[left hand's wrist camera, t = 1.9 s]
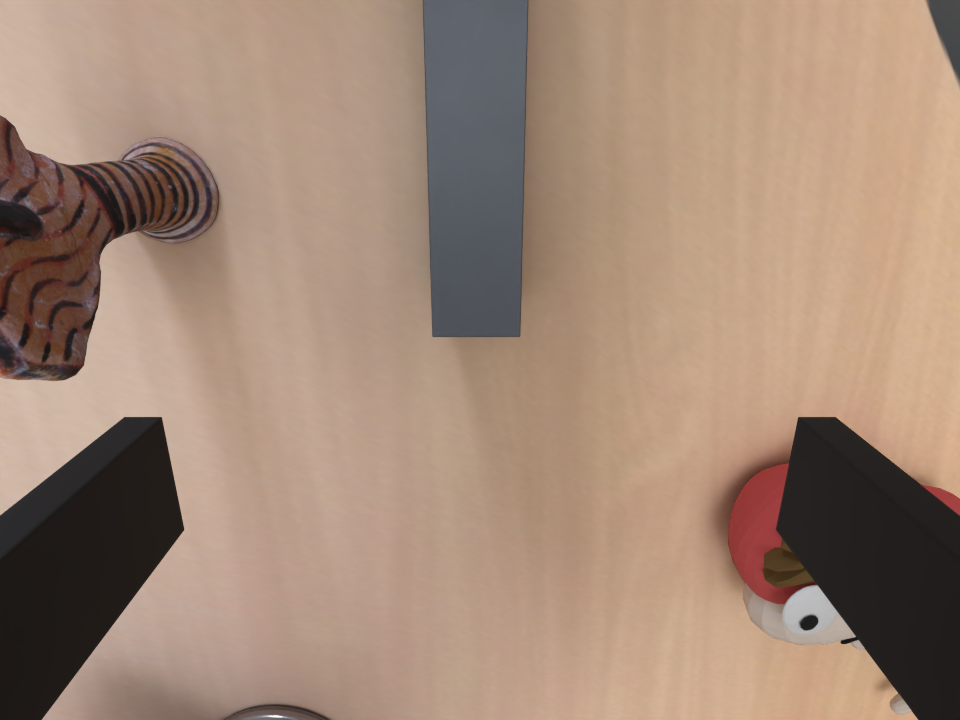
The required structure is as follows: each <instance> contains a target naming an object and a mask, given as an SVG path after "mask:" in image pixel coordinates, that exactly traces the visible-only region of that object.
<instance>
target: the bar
mask: <svg viewBox="0 0 960 720" xmlns="http://www.w3.org/2000/svg"><path fill="white" fill-rule="evenodd" d="M423 21H424V56H425V91H426V127H427V162H428V197H429V233H430V268H431V303H432V336H433V337H520V324H521V282H522V240H523V199H524V157H525V115H526V73H527V31H528V0H423Z"/></svg>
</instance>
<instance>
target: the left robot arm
mask: <svg viewBox="0 0 960 720" xmlns="http://www.w3.org/2000/svg"><path fill="white" fill-rule="evenodd" d="M183 531H184V526H183V521H182V516H181V511H180V506H179V501H178V496H177V491H176V486H175V481H174V476H173V471H172V466H171V461H170V456H169V451H168V446H167V441H166V436H165V431H164V426H163V421H162V417H124V418H123V419H122V420H120V421H119V422H118V423H117V424H115V425H114V426H113V427H112V428H110V429H109V430H108V431H106V432H105V433H104V434H103V435H101V436H100V437H99V438H98V439H96V440H95V441H94V442H93V443H91V444H90V445H89V446H88V447H86V448H85V449H84V450H83V451H81V452H80V453H79V454H77V455H76V456H75V457H74V458H72V459H71V460H70V461H69V462H67V463H66V464H65V465H64V466H62V467H61V468H60V469H59V470H57V471H56V472H55V473H53V474H52V475H51V476H50V477H48V478H47V479H46V480H45V481H43V482H42V483H41V484H40V485H38V486H37V487H36V488H35V489H33V490H32V491H31V492H29V493H28V494H27V495H26V496H24V497H23V498H22V499H21V500H19V501H18V502H17V503H16V504H14V505H13V506H12V507H11V508H9V509H8V510H7V511H5V512H4V513H3V514H2V515H0V720H42V719H43V717H44V716H45V715H46V713H47V712H48V711H49V709H50V708H51V707H52V705H53V704H54V703H55V701H56V700H57V699H58V697H59V696H60V695H61V693H62V692H63V691H64V689H65V688H66V687H67V685H68V684H69V683H70V681H71V680H72V679H73V677H74V676H75V675H76V673H77V672H78V671H79V669H80V668H81V667H82V665H83V664H84V663H85V661H86V660H87V659H88V657H89V656H90V655H91V653H92V652H93V651H94V649H95V648H96V647H97V645H98V644H99V643H100V641H101V640H102V639H103V637H104V636H105V635H106V633H107V632H108V631H109V629H110V628H111V627H112V625H113V624H114V623H115V621H116V620H117V619H118V617H119V616H120V615H121V613H122V612H123V611H124V609H125V608H126V607H127V605H128V604H129V603H130V601H131V600H132V599H133V597H134V596H135V595H136V593H137V592H138V591H139V589H140V588H141V587H142V585H143V584H144V583H145V581H146V580H147V579H148V577H149V576H150V575H151V573H152V572H153V571H154V569H155V568H156V567H157V565H158V564H159V563H160V561H161V560H162V559H163V557H164V556H165V555H166V553H167V552H168V551H169V549H170V548H171V547H172V545H173V544H174V543H175V541H176V540H177V539H178V537H179V536H180V535H181V533H182V532H183ZM776 531H777V532H778V533H779V535H780V536H781V537H782V539H783V540H784V541H785V543H786V544H787V545H788V547H789V548H790V549H791V551H792V552H793V553H794V555H795V556H796V557H797V559H798V560H799V561H800V563H801V564H802V565H803V567H804V568H805V569H806V571H807V572H808V573H809V575H810V576H811V577H812V579H813V580H814V581H815V583H816V584H817V585H818V587H819V588H820V589H821V591H822V592H823V593H824V595H825V596H826V597H827V599H828V600H829V601H830V603H831V604H832V605H833V607H834V608H835V609H836V611H837V612H838V613H839V615H840V616H841V617H842V619H843V620H844V621H845V623H846V624H847V625H848V627H849V628H850V629H851V631H852V632H853V633H854V635H855V636H856V637H857V639H858V640H859V641H860V643H861V644H862V645H863V647H864V648H865V649H866V651H867V652H868V653H869V655H870V656H871V657H872V659H873V660H874V661H875V663H876V664H877V665H878V667H879V668H880V669H881V671H882V672H883V673H884V675H885V676H886V677H887V679H888V680H889V681H890V683H891V684H892V685H893V687H894V688H895V689H896V691H897V692H898V693H899V695H900V696H901V697H902V699H903V700H904V701H905V703H906V704H907V705H908V707H909V708H910V709H911V711H912V712H913V713H914V715H915V716H916V717H917V719H918V720H960V515H958V514H957V513H956V512H955V511H953V510H952V509H951V508H949V507H948V506H947V505H946V504H944V503H943V502H942V501H941V500H939V499H938V498H937V497H936V496H934V495H933V494H932V493H931V492H929V491H928V490H927V489H925V488H924V487H923V486H922V485H920V484H919V483H918V482H917V481H915V480H914V479H913V478H912V477H910V476H909V475H908V474H907V473H905V472H904V471H903V470H901V469H900V468H899V467H898V466H896V465H895V464H894V463H893V462H891V461H890V460H889V459H888V458H886V457H885V456H884V455H883V454H881V453H880V452H879V451H877V450H876V449H875V448H874V447H872V446H871V445H870V444H869V443H867V442H866V441H865V440H864V439H862V438H861V437H860V436H859V435H857V434H856V433H855V432H854V431H852V430H851V429H850V428H848V427H847V426H846V425H845V424H843V423H842V422H841V421H840V420H838V419H837V418H836V417H798V421H797V426H796V431H795V436H794V441H793V446H792V451H791V456H790V461H789V466H788V471H787V476H786V481H785V486H784V491H783V496H782V501H781V506H780V511H779V516H778V521H777V526H776ZM225 720H326V719H324V718H322V717H320V716H318V715H316V714H314V713H311V712H308V711H305V710H301V709H297V708H292V707H284V706H263V707H256V708H251V709H247V710H243V711H241V712H238V713H236V714H234V715H232V716H230V717H228V718H227V719H225Z"/></svg>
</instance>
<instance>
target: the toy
mask: <svg viewBox="0 0 960 720" xmlns="http://www.w3.org/2000/svg"><path fill="white" fill-rule="evenodd" d="M788 466H789V463H787V464H780V465H776V466H773V467H770V468H767V469H763V470H762V471H761V472H759V473H758V474H756V475H755V476H753V477H752V478H751V479H750V480H749V481H748V482H747V484H746V485H745V486H744V487H743V489H742V490H741V492H740V494H739V496H738V497H737V499H736V501H735V503H734V507H733V510H732V513H731V516H730V522H729V529H728V545H729V549H730V553H731V556H732V560H733V563H734V564H735V566H736V568H737V570H738V572H739V574H740V576H741V577H742V579H743V580H744V582H745V584H744V590H743V600H744V603H745V606H746V609H747V611H748V614H749V617H750V619H751V621H752V622H753V623H754V624H755V625H756V626H758V627H759V628H760V629H761V630H763V631H764V632H765V633H766V634H768V635H769V636H771V637H773V638H775V639H779V640H782V641H786V642H790V643H794V644H799V645H814V644H830V643H834V642H838V641H841V644H847V643H850V642H851V643H852V645H853V646H854V647H855V648H857V649H865V648H864V647H863V645H862V644H861V643H860V641H859V640H858V639H857V637H856V636H855V635H854V633H853V632H852V631H851V629H850V628H849V627H848V625H847V624H846V623H845V621H844V620H843V619H842V617H841V616H840V615H839V613H838V612H837V611H836V609H835V608H834V607H833V605H832V604H831V603H830V601H829V600H828V599H827V597H826V596H825V595H824V593H823V592H822V591H821V589H820V588H819V587H818V585H817V584H816V583H815V581H814V580H813V579H812V577H811V576H810V575H809V573H808V572H807V571H806V569H805V568H804V567H803V565H802V564H801V563H800V561H799V560H798V559H797V557H796V556H795V555H794V553H793V552H792V551H791V549H790V548H789V547H788V545H787V544H786V543H785V541H784V540H783V539H782V537H781V536H780V535H779V533H778V532H777V531H776V526H777V521H778V516H779V511H780V506H781V501H782V496H783V491H784V486H785V481H786V476H787V471H788ZM922 486H923V487H924V488H925V489H927V490H928V491H929V492H931V493H932V494H933V495H934V496H936V497H937V498H938V499H939V500H941V501H942V502H943V503H944V504H946V505H947V506H948V507H949V508H951V509H952V510H953V511H955V512H956V513H957V514H958V515H960V499H959V498H958V497H956V496H955V495H953V494H952V493H950V492H947V491H945V490H943V489H941V488H936V487H930V486H924V485H922ZM890 707H891V709H892V710H893V711H894V712H895V713H897V714H906V713H909V712H911V709H910V708H909V707H908V705H907V704H906V703H905V701H904V700H903V699H902V697H901V696H900V695H899V694H897V695H896V696H894V697H893V698H892V699H891V701H890Z"/></svg>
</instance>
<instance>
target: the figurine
mask: <svg viewBox="0 0 960 720" xmlns="http://www.w3.org/2000/svg"><path fill="white" fill-rule="evenodd" d="M217 206H218V192H217V187H216V184H215V182H214V180H213V177H212V175H211V173H210V171H209V169H208V168H206V166H205V165H204V163H203V162H202V160H201V159H200V158H199V157H198V156H197V155H195V154H194V153H193V152H192V151H191V150H190V149H188V148H186V147H185V146H184V145H182V144H180V143H178V142H175V141H172V140H170V139H167V138H152V139H148V140H145V141H143V142H140V143H136V144H134V145H132V146H131V147H129V148H128V149H127V150H126V151H125V152H124V153H123V154H122V156H121V157H120V158H119V160H118V161H108V162H99V163H89V164H81V165H66V164H62V163H58V162H56V161H54V160H52V159H50V158H48V157H46V156H44V155H42V154H36V153H33V152H31V151H29V150H27V149H26V148H25V146H24V145H23V143H22V141H21V139H20V138H19V135H18V133H17V131H16V128H15V126H13V125H12V124H11V123H10V122H9V121H8V120H7V119H6V118H4V117H2V116H0V377H2V378H4V379H15V380H48V381H60V380H66V379H68V378H70V377H72V376H74V375H76V374H77V373H78V372H79V370H80V369H81V368H82V367H83V366H84V361H85V356H86V349H87V342H88V338H89V334H90V332H91V329H92V325H93V321H94V319H95V313H96V311H97V308H98V303H99V295H100V281H101V270H100V265H99V261H100V255H101V253H102V251H103V249H104V247H105V246H106V245H107V244H108V243H109V242H111V241H112V240H113V239H115V238H118V237H121V236H122V235H125V234H128V233H131V232H135V231H139V232H141V233H142V234H144V235H146V236H147V237H150V238H152V239H155V240H158V241H162V242H166V243H179V242H184V241H187V240H191V239H193V238H195V237H196V236H198V235H200V234H201V233H202V232H204V231H206V229H208V228H209V227H210V226H211V224H212V223H213V221H214V219H215V216H216V213H217Z"/></svg>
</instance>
